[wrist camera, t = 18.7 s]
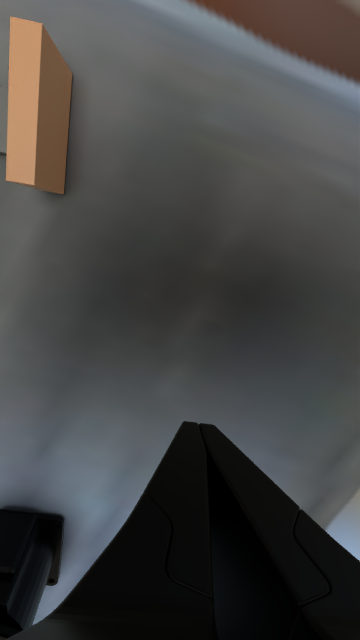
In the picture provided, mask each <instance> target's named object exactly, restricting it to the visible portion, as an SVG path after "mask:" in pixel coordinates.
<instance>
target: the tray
mask: <svg viewBox="0 0 360 640" xmlns="http://www.w3.org/2000/svg"><path fill="white" fill-rule="evenodd" d="M71 86H72V72H71V71H70V69H69V67H68V66H67V64H66V62H65V61H64V59H63V57H62V56H61V54H60V52H59V51H58V49H57V47H56V46H55V44H54V42H53V41H52V39H51V37H50V36H49V34H48V33H47V31H46V29H45V28H44V26H43V24H42V23H37V22H33V21H28V20H24V19H19V18H15V17H10V53H9V88H8V87H3V86H0V154H3V155H7V163H6V180H7V181H10V182H14V183H17V184H21V185H24V186H28V187H31V188H35V189H38V190H42V191H47V192H53V193H58V194H64V185H65V171H66V156H67V142H68V128H69V114H70V100H71Z"/></svg>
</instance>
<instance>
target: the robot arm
mask: <svg viewBox="0 0 360 640" xmlns="http://www.w3.org/2000/svg"><path fill="white" fill-rule="evenodd" d="M57 523H58V524H57ZM63 532H64V519H63V517H61V516H56V515H45V514H34V513H23V512H13V511H2V510H0V640H360V561H359V560H357V559H356V558H355V557H354V556H353V555H352V554H351V553H349V552H348V551H347V550H346V549H345V548H343V547H342V546H341V545H340V544H339V543H338V542H337V541H335V540H334V539H333V538H332V537H331V536H330V535H329V534H328V533H327V532H326V531H325V530H323V529H322V528H321V527H320V526H319V525H318V524H317V523H316V522H315V521H314V520H313V519H312V518H311V517H310V516H308V515H307V514H306V513H305V512H304V511H303V510H302V509H300V507H299V506H298V505H297V504H296V503H295V502H294V501H293V500H292V499H291V498H290V497H289V496H288V495H286V494H285V493H284V492H283V491H282V490H281V489H280V488H279V487H278V486H277V485H276V484H275V483H274V482H273V481H272V480H271V479H270V478H269V477H268V476H267V475H266V474H265V473H264V472H262V471H261V470H260V469H259V468H258V467H257V466H256V465H255V464H254V463H253V462H252V461H251V460H250V459H249V458H248V457H247V456H246V455H245V454H244V453H243V452H242V451H241V450H240V449H239V448H237V447H236V446H235V445H234V444H233V443H232V442H231V441H230V440H229V439H228V438H227V437H226V436H225V435H224V434H223V433H222V432H221V431H220V430H219V429H218V428H217V427H216V426H214V425H212V424H203V423H200V424H199V425H198V423H195V422H187V421H184V422H183V423H182V424H181V426H180V428H179V430H178V431H177V433H176V435H175V437H174V439H173V440H172V442H171V444H170V446H169V448H168V449H167V451H166V453H165V455H164V456H163V458H162V460H161V462H160V464H159V465H158V467H157V469H156V471H155V473H154V474H153V476H152V478H151V480H150V482H149V483H148V485H147V487H146V489H145V490H144V493H143V494H142V495H141V497H140V499H139V501H138V503H137V504H136V506H135V508H134V509H133V511H132V512H131V514H130V516H129V517H128V519H127V521H126V522H125V523H124V525H123V526H122V527H121V529H120V530H119V532H118V533H117V534H116V536H115V537H114V538H113V540H112V541H111V542H110V544H109V545H108V546H107V547H106V549H105V550H104V551H103V552H102V554H101V555H100V556H99V557H98V559H97V560H96V561H95V562H94V564H93V565H92V566H91V567H90V569H89V570H88V571H87V572H86V574H85V575H84V576H83V577H82V579H81V580H80V581H79V582H78V584H77V585H76V586H75V587H74V589H73V590H72V591H71V592H70V594H69V595H68V596H67V597H66V598H65V600H64V601H63V602H62V603H61V604H60V605H59V606H58V607H57V608H56V609H55V610H54V611H53V612H52V613H51V614H49V615H48V616H47V617H46V618H44V619H43V620H42V621H40V622H38V623H36V624H34V625H33V626H32V624H33V621H34V618H35V615H36V612H37V609H38V606H39V603H40V600H41V597H42V594H43V591H44V588H45V585H49V586H53V585H56V584H57V582H58V579H59V575H60V564H61V553H62V543H63Z"/></svg>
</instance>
